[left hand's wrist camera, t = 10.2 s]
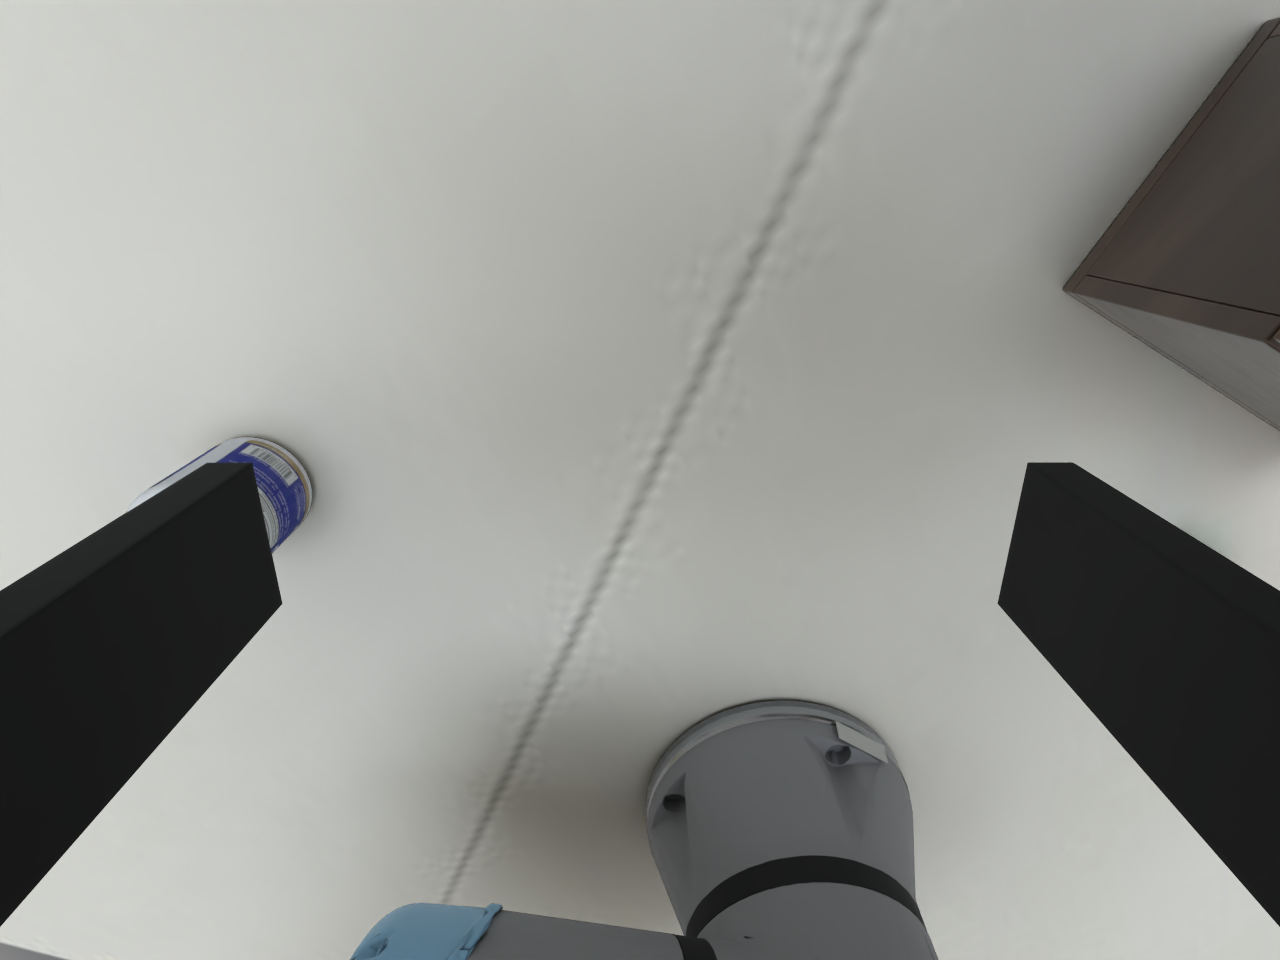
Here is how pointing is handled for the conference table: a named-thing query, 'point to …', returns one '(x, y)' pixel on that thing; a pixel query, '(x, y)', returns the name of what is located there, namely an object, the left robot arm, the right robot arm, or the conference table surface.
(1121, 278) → the chest
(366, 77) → the conference table surface
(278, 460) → the pill bottle
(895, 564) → the conference table surface
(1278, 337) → the lid
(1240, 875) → the left robot arm
